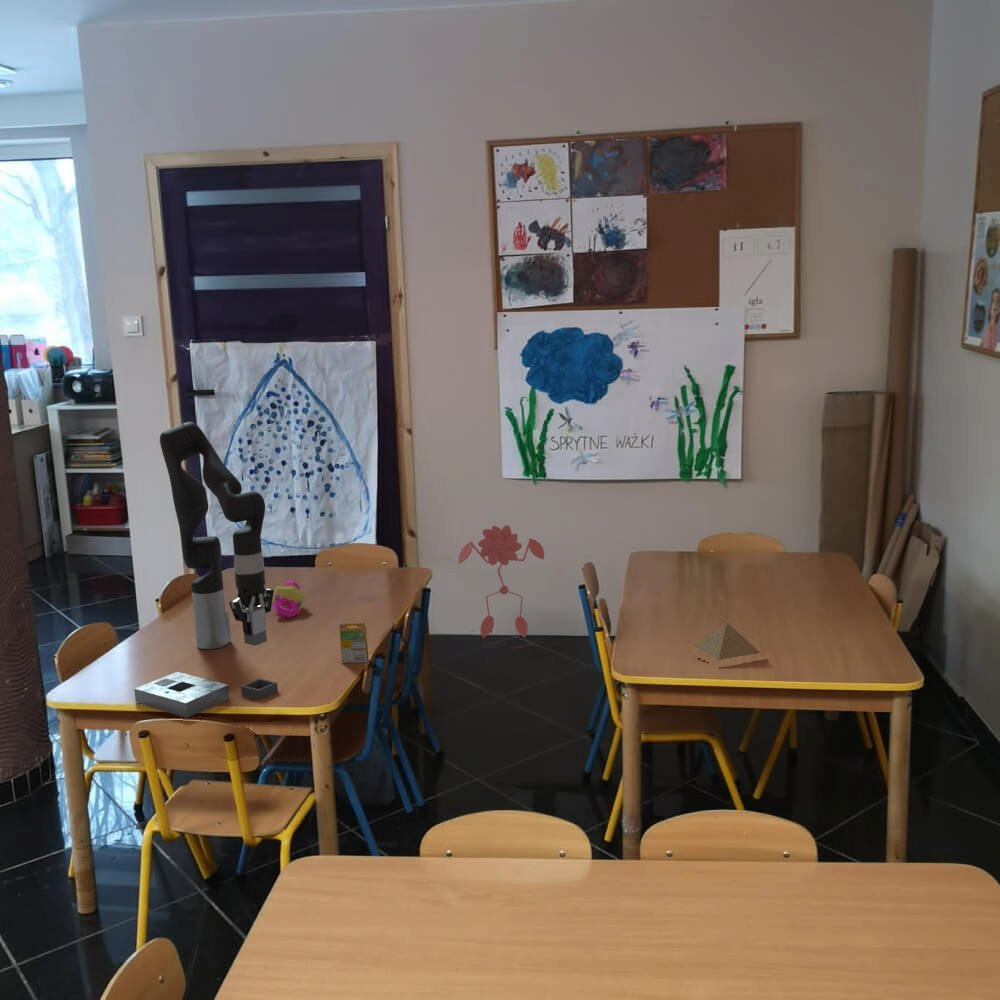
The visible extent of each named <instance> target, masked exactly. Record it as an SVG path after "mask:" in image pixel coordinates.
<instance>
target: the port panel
mask: <svg viewBox="0 0 1000 1000" xmlns="http://www.w3.org/2000/svg"><path fill="white" fill-rule="evenodd" d="M133 692H134V696H135V697H134V698H135V699H134V700H135V703H136V702H138V703H140V704H139V705H141V704H143V705H142V706H144V705H146V706H145V707H148V706H149V707H148V708H152V709H155V710H158V711H162V712H165V713H169V714H172V715H174V716H179V717H182V718H185V719H188V718H191V717H193V716H195V715H198V714H200V713H201V712H204V711H206V710H208V709H211V708H213V707H215V705H216V706H218V705H220V704H223V703H224V701H225V702H226V700H227V701H229V700H230V691H229V685H228V684H226V683H222V682H218V681H215V680H210V679H206V678H202V677H199V676H195V675H191V674H187V673H184V672H179V671H175V672H174V673H170V674H168V675H165V676H163V677H160V678H158V679H155V680H153V681H152V680H151V682H148V683H145V684H142V685H140V686H138V687H135V688H134V691H133ZM228 699H229V700H228ZM217 704H218V705H217Z"/></svg>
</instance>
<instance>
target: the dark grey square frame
mask: <svg viewBox="0 0 1000 1000" xmlns="http://www.w3.org/2000/svg"><path fill="white" fill-rule="evenodd" d="M259 688H260V689H259ZM240 690H241V696H243V695H244V696H243V697H247V696H248V697H247V698H251V699H255V700H258V701H260V700H263V699H265V698H267V697H268V696H271V695H273V693H274V694H276V693H278V691H279V689H278V682H276V681H273V680H269V679H268V680H267V679H264V678H257V679H255V680H253V681H250V682H247V683H245V684H243V685H241V687H240ZM275 692H276V693H275Z"/></svg>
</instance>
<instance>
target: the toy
mask: <svg viewBox="0 0 1000 1000" xmlns="http://www.w3.org/2000/svg"><path fill="white" fill-rule="evenodd" d="M300 589H301V586H300V585H299V584H298V583H297V582H296V581H295V580H290V581H288V580H287V581H286V582H284V583H283V585H276V587H275V589H274V594H273V600H272V607H273V609H274V611H275V612H276V614H277V615H278V616H281V617H283V618H287V619H290V618H292V617H294V616H297V615H298V614H300V613H301V611H300V610H302V607H303V605H304V603H305V600H306V597H307V595H306V594H305V593H303V592H302V591H301V590H300Z"/></svg>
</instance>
